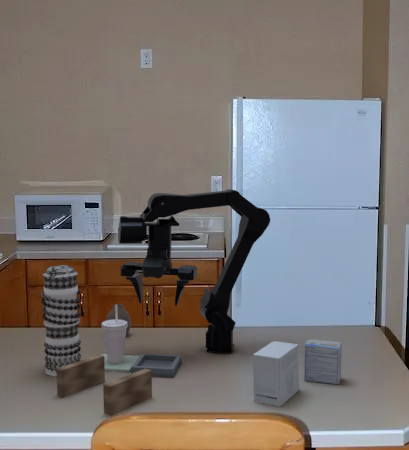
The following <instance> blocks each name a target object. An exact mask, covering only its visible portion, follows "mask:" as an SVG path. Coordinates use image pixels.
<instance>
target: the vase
mask: <svg viewBox="0 0 409 450" xmlns="http://www.w3.org/2000/svg"><path fill="white" fill-rule="evenodd" d="M115 305H117V310H118V319H120V320H125V321H127V322H128V327H127V328H126V336H128V335H129V332H130V330H131V327H132V325H131V324H132V320H131V317H130V314H129V313H128V311H127V310H126V309H125V308H124V306H123V304H121V303H119V304H118V303H116V304H113V305H112V306H113V307H112V309H111V310H110V311H109V312H108V314H107V316H106V320H105V321H107V320H113V319H115Z"/></svg>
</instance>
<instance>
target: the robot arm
mask: <svg viewBox="0 0 409 450" xmlns="http://www.w3.org/2000/svg"><path fill="white" fill-rule="evenodd" d="M226 206H227V207H228V206H229V207H230V208H231V209H232V210H233V211H234V212H235V213H236V214H238V216H240V221H239V223H238V224H239V225H238V231H237V233H238V234H237V237H236V240H235V241H234V245H233V247H232V248H231V251H230V253H229V255H228V258H227V259H226V261H225V264H224V266H223V268H222V270H221V272H220V274H219V277H218V279H217V281H216V283H215V284H214V286H213V287H212V288H211V289H209V288H204V291H203V294H202V297H201V298H200V299H199V300H198V303H200V304H199V312H200V314H201V315H202V317H204V319H205V320H206V322H208V323H209V324H208V326H207V330H206V331H205V348H206V352H207V353H218V354H219V353H220V354H231V353H232V352H233V350H234V347H235V344H234V329H235V326H236V324H237V323H236V321H235V320H234V319H233V318H232V317H231V316H230V315H229V314H228V312H229V309H230V303H231V294H232V292H233V289H234V286H235V285H236V282H237V280H238V278H239V276H240V273H241V271H242V269H243V267H244V265H245V263H246V262H247V261H246V260H247V258H248V256H249V254H250V252H251V251H252V248H253V245H254V244H255V243H256V241H258V240H259V239H260V237H262V236H263V235H264V233H265V231H266V230H267V228H268V227H269V225H270V224H271V223H270V222H271V217H270V213H269V212H268V211H267V210H266V209H264V208H262V207H258V206H256V205H254V203H252V202H251V201H249V200H248V199H247V198H246V197H244V196H243V195H242V194H241V193H240V192H239V191H238V190H235V189H233V188H232V189H231V188H230V189H229V188H228V189H226V190H219V191H208V192H199V193H191V194H190V193H188V194H179V193H178V194H176V193H167V192H165V193H164V192H155V193H153V194H151V195H150V197H149V198H148V200H147V206H146V208H144V210H143V211H142V212H141V214H139V216H123V215H121V216H119V222H118V228H117V239H118V240H117V241H118V244H119V245H122V244H123V245H125V244H126V245H127V244H128V245H131V244H132V245H133V244H136V245H137V244H138V245H139V244H141V245H142V243H143V242H144V241H145V240H147V238H148V241H147V249H146V250H147V251H146V256H145V258H144V260H143V263H141V262H140V261H139V262H138V261H127V262H125V263H124V264H122V265H121V266H120V270H119V271H120V277H125V280H128V281H129V282H130V283H131V284H132V286H133V288H134V291H135V294H136V297H137V300H138V302H139V304H143V298H144V296H143V295H144V293H143V291H144V290H143V289H144V288H143V287H144V285H143V284H144V283H143V282H144V281H143V278H146V279H147V278H155V279H161V278H162V277H163V276H175V277H178V279H177V280H176V282H175V283H176V289H175V296H174V297H175V299H174V305H175V307H177V306H178V305H179V302H180V299H181V296H182V293H183V292H184V291H183V290H184V288H185V286H186V284H189V283H190V282H191V281H194V280H195V279H196V278H197V277H198V268H197V266H196V265H192V264H190V265H188V264H182V265H180V266H179V267H173V262H172V259H171V257H172V227H179V226H180V223H179V222H178V221H177V220H176V219H175V217H174V215H177V214H180V213H182V212H186V211H191V210H201V209H207V208H208V209H209V208H217V207H219V208H220V207H226ZM167 217H168V218H167ZM147 228H148V229H147ZM147 230H148V231H147ZM147 233H148V234H147ZM147 236H148V237H147Z"/></svg>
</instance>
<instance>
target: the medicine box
mask: <svg viewBox="0 0 409 450" xmlns="http://www.w3.org/2000/svg"><path fill="white" fill-rule="evenodd" d="M342 345H343V343H342V342H341V341H340V342H339V341H329V340H320V339H319V340H318V339H308V340H307V341H306V342H305V344H304V360H303V361H304V363H303V366H304V367H303V370H304V371H303V372H304V373H303V374H304V375H303V381H305V382H315V383H323V384H332V385H339V384H340V381H341V379H342V352H343V351H342Z"/></svg>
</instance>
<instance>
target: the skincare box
mask: <svg viewBox="0 0 409 450" xmlns="http://www.w3.org/2000/svg"><path fill="white" fill-rule="evenodd" d="M299 346H300V345H299V344H298V343H297V344H296V343H290V342H283V341H276V340H275V341H274V340H273V341H271V342H270V343H269V344H267V345H265V346H263V347H262V348H260V349H259V350H258V351H256V352H255V353H253V354H252V357H253V360H252V361H253V364H252V366H253V367H252V368H253V375H252V376H253V402H256V403H259V404H260V403H261V404H266V405H271V406H275V407H279V408H280V407H281V406H283V405H284V404H285V403H286V402H288V400H290V399H291V398H292V397H293V396H294V395H295V394H297V393H298V392H299V391H300V376H299V375H300V372H299V371H300V368H299V366H300V365H299V364H300V363H299V356H300V355H299V352H300V351H299Z"/></svg>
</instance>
